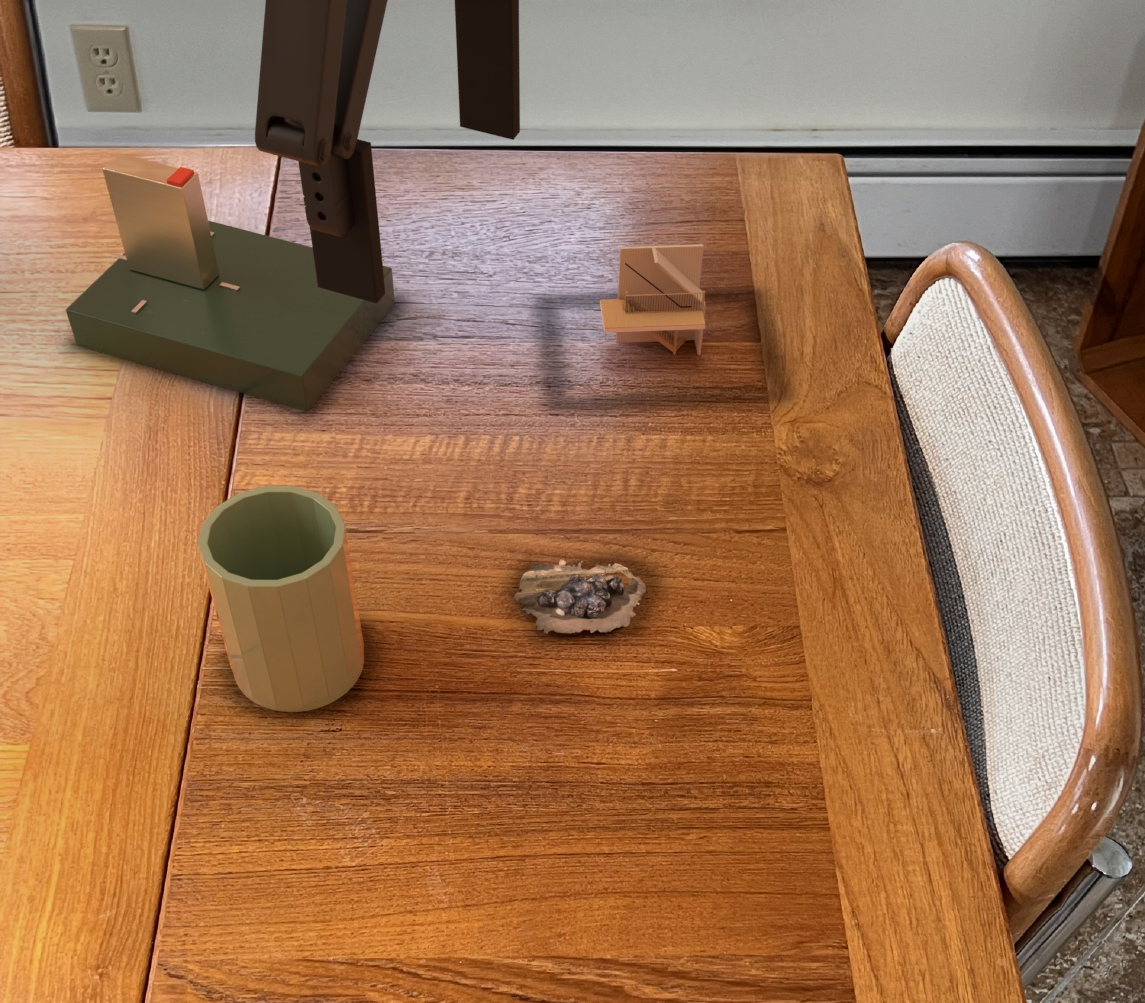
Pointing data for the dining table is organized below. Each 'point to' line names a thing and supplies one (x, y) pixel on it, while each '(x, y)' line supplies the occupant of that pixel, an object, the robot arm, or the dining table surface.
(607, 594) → the blueberries
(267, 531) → the cup
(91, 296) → the green base plate
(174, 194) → the gold upright block
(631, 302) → the architectural model
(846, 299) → the dining table surface
